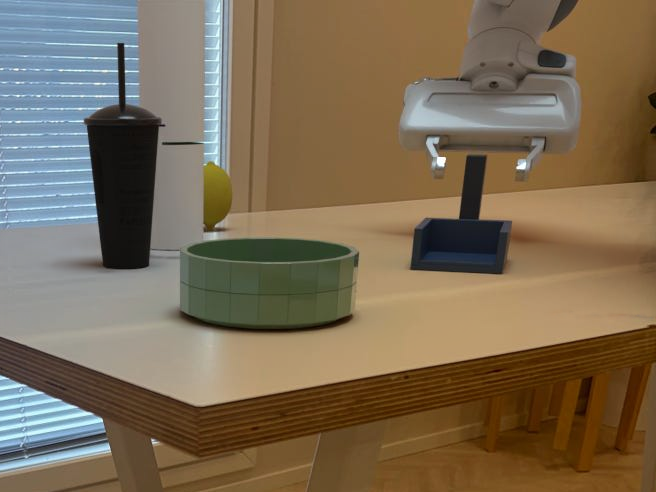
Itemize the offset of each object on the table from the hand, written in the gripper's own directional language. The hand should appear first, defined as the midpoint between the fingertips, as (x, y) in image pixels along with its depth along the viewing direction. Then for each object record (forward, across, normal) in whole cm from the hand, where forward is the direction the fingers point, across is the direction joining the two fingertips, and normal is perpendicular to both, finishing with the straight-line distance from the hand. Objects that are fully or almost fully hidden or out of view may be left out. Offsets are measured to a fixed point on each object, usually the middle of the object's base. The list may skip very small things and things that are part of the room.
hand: (478, 176), depth 117 cm
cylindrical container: (+14, -33, -4) cm, 36 cm away
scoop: (+17, 0, -7) cm, 18 cm away
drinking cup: (+25, -33, -14) cm, 44 cm away
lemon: (+4, -33, +7) cm, 34 cm away
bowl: (+39, -13, -29) cm, 50 cm away
